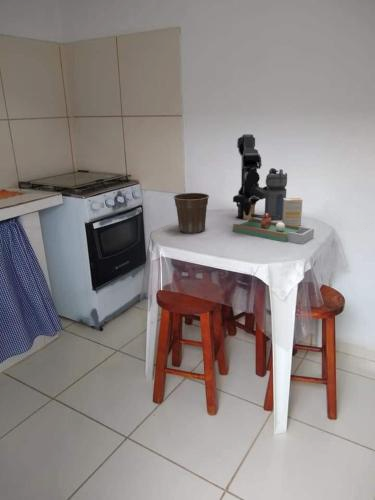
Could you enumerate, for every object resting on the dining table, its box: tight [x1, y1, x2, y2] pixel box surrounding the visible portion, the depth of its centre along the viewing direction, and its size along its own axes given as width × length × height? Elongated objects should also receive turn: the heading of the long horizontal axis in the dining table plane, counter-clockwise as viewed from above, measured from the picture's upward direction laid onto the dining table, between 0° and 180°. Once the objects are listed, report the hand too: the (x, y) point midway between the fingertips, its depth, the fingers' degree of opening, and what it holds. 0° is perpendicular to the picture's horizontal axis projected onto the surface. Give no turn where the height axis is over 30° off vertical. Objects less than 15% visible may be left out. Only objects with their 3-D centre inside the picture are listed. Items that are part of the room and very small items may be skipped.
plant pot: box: [173, 192, 210, 234], centre depth 182 cm, size 16×16×16 cm
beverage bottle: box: [264, 167, 288, 220], centre depth 198 cm, size 10×13×25 cm
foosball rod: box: [242, 204, 272, 229], centre depth 178 cm, size 12×5×9 cm, turn 50°
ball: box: [276, 221, 285, 231], centre depth 172 cm, size 4×4×4 cm
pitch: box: [232, 217, 315, 245], centre depth 175 cm, size 33×14×4 cm, turn 50°
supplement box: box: [281, 197, 303, 227], centre depth 185 cm, size 8×5×13 cm, turn 84°
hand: (249, 214), depth 181 cm, fingers closed on foosball rod, 3 cm apart
